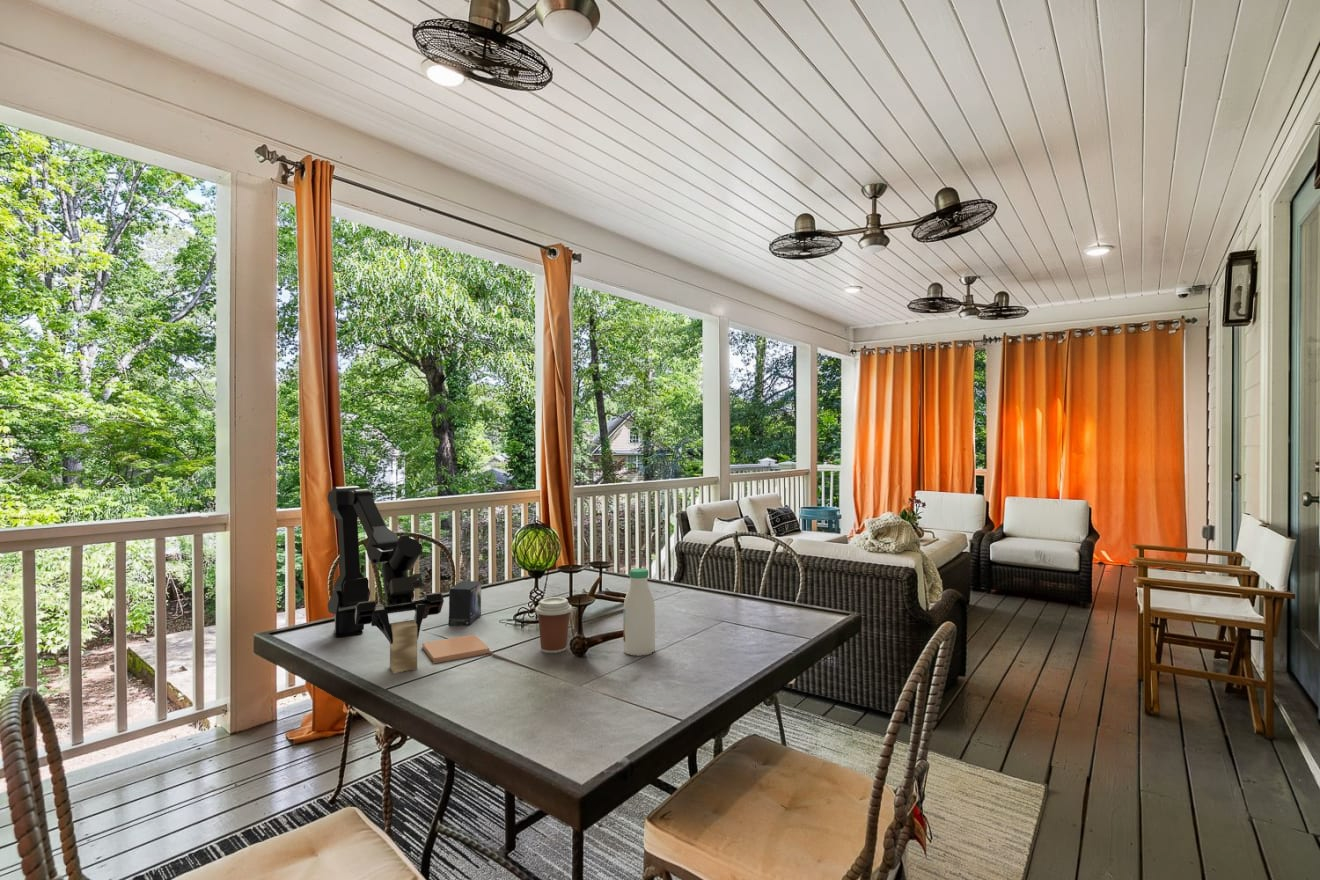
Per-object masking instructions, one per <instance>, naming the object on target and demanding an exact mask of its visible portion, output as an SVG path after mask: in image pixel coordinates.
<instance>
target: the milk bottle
mask: <svg viewBox="0 0 1320 880" xmlns="http://www.w3.org/2000/svg"><path fill="white" fill-rule="evenodd" d="M629 580H630V583H629V586H628V587H629V588H628V590H627V593H626V595H625V598H624V602H623V623H622V624H623V626H622V627H623V638H622V639H623V640H622V641H623V652H624V653H625V654H627V655H629V654H630V655H629V656H635V655H636V657H637V656H638V657H641V656H642V655H643V656H648V655H651V654H653V653H654V652H655V650H656V649H655V648H656V622H655V621H656V613H655V600H654V597H653V594H652V591H651V590H650V587H649V582H648V580H649V570H648V569H647V568H642V567H641V568H638V567H637V568H631V569H630V570H629ZM652 652H653V653H652Z"/></svg>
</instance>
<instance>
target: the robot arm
mask: <svg viewBox="0 0 1320 880" xmlns="http://www.w3.org/2000/svg"><path fill="white" fill-rule="evenodd" d="M327 502H328V504H329V509H330V512H331V513H332V514H333V516H334V517H335V519H336V520H337V531H338V532H337V533H338V551H339V556H338V557H339V570H340V571H339V573H340V574H339V576H338V577H337V579H336V581H335V582H334V584H333V593H332V595H331V597H330V599H329V600H328V602H327V610H328V613H330V614H333V615H334V629H333V634H334V637H335V638H343V637H349V636H354V635H355V636H356V635H361V634H363V632H364V631H363V630H364V629H365V625H369V624H370V625H371V627H376V628H378V629H379V631H380V632H381V633H382V634H383V635H384V637H385V638H386V640H387V642H389V645H390V644H393V636H392V631H391V627H390V623H391V622H390V620H389V614H395V613H404V612H411V611H414V617H413V620H414V622H415V623H416V624H417V641H418V640H419V636H420V631H421V625H422V622H423V620H425V619H427V618H428V617H429V616H432V615H433V616H434V615H439V614H440V613H441V611H442V609H443V605H444V602H445V600H444V594H443V593H441V592H432V593H425V594H424V596H423V599H422V600H414V601H413V599H414V598H415V591H416V589H417V590H418V589H421V588H422V587H423V585H424V584H423V577H422V573H413V574H412V575H411V576H409V571H410V570H411V569H412V568H413V567H414V566H415V564H416V563H417V561H418V559H419V558H420V556H421V554H422V553H423V545H422V543H420V541H418V540H416V539H414V538H411V537H410V536H409V534H403V535H400V536H398V535H397V533H396V532H394V531H392V530H391V529H389V528H388V527H387V525H386V523H385V521H384V519H383V517H382V514H381V513H380V510H379V509H378V506H377V505H376V503H375V500H374V494H373V492H372V490H371V489H368V488H366V489H365V488H364V489H362V488H360V486H358V485H348V486H347V485H346V486H334V487H332V489H331V491H329V492H328V493H327ZM358 519H359V521H360V524H361V526H362V527H363V530H364V532H365V535H366V537H367V540H368V541H367V544H366V546H365V547H366V551H367V552H366V553H367V556H368V559H369V560H370V562H371V563H372V564H381V563H382V564H383V563H384V564H383V565H382V566H381V571H380V575H379V577H380V578H382V582H383V583H382V584H383V590H384V599H385V603H378V604H377V602H376V600H370V598H371V597H370V596H371V591H370V588H369V582H370V581H369V578H368V577H365V576H364V574H363V573H362V572H361V563H360V562H361V561H360V559H361V558H360V544H359V541H360V540H359V526H358V525H359V523H358Z"/></svg>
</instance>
